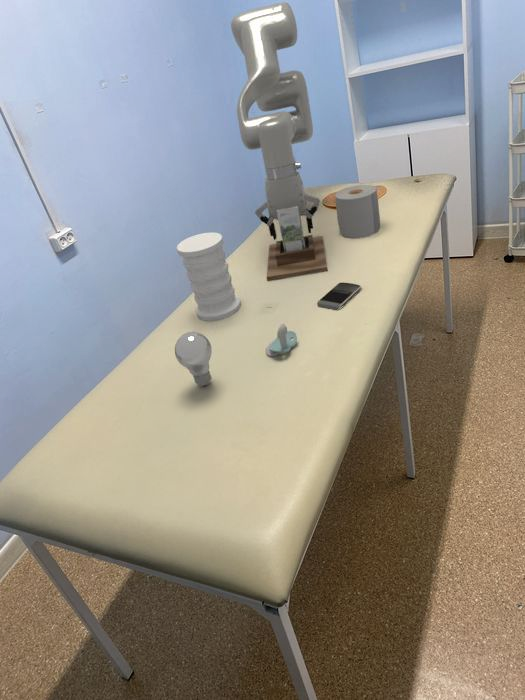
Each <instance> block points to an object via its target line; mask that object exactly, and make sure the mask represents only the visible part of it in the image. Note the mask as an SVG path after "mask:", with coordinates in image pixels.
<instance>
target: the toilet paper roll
mask: <svg viewBox="0 0 525 700" xmlns="http://www.w3.org/2000/svg"><path fill="white" fill-rule="evenodd" d="M377 190H378V189H377V186H374V185H371V184H357V185H352V186H347V187H345V188H342V189H340V190H338V191H337V192H336V193H335V194H334V195H335V196H334V197H335V208H336V209H335V210H336V216H337V224H338V230H339V235H340V236H342V237H343V238H347V239H362V238H365V237H369V236H372V235H374V234H376V233H377V232H379V230H380V228H381V215H380V208H379V205H380V204H379V199H378V197H379V196H378V191H377Z"/></svg>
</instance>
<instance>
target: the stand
mask: <svg viewBox="0 0 525 700" xmlns="http://www.w3.org/2000/svg"><path fill="white" fill-rule="evenodd" d="M323 237H324V236H323V235H318V236H313V234H309V235H304V241H305V246H306V249H303V250H297V251H291V252H286V253H285V251H284V246H283V241H282V240H276V241H275V243H274V244H273V243H272V244H269V248H268V259H267V268H266V281H267V282H270V281H276V280H282V279H288V278H289V279H290V278H295V277H300V276H306V275H312V274H319V273H324V272H325V273H326V272H328V263H327V258H326V252H325V251H326V250H325V243H324V238H323Z"/></svg>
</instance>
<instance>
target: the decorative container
mask: <svg viewBox="0 0 525 700" xmlns="http://www.w3.org/2000/svg"><path fill="white" fill-rule="evenodd" d="M223 244H224V239H223V235H222V234H221V233H218V232H203V233H198V234H195V235H192V236H190V237H187V238H185V239H183V240H182V241H181V242H179V243H178V245H177V246H176V251H177V254H178V255H179V256H180V257H182V265H183V266H184V268H185V269H186V276H187V279H188V280H189V282H190V289H191V290H192V292H193V294H194V296H193V297H194V301H195V303H196V307H195V309H194V310H195V311H194V312H195V314H196V317H197V318H198V319H199V320H201V321H205V322H212V321H213V322H214V321H220V320H224V319H227V318H229V317H231V316H233V315H234V314H236V313H237V312H238V311H239V310H240V309H241V308H242V301H241V297H240V296H239V295H238V294H236V292H235V290H236V289H235V286H234V285H233V284H232V283H233V282H232V275H231V273H230V272H229V264H228V261H227V260H226V252H225V250H224V249H223Z"/></svg>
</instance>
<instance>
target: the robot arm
mask: <svg viewBox="0 0 525 700" xmlns="http://www.w3.org/2000/svg"><path fill="white" fill-rule="evenodd" d="M297 26H298V25H297V21H296V17H295V14H294V11H293V9H292V7H291V5H290V4H289V3H288V2H286V1H283V2H279V3H274V4H271V5H267V6H263V7H258V8H257V7H256V8H254V9H250V10H247V11H246V10H245V11H243V12H241V13H239V14H237V15H235V16H233V18H232V19H231V22H230V27H231V28H230V29H231V32H232V33H231V34H232V36H233V39H234V41H235V43H236V44H237V46H238V48H239V49H240V51H241V52H242V53H241V54H243V56H244V61H245V67H246V72H247V81H246V82H245V84H244V86H243V87H242V90H241V92H240V94H239V97H238V100H237V106H236V114H237V121H238V122H237V123H238V127H239V134H240V139H241V142H242V143H243V146H244V147H245V148H246V149H248V150H252V151H253V150H254V151H255V150H261V154H262V160H263V164H264V169H265V174H266V178H265V179H264V190H265V199H266V200H265V202H264V203H263V204H261V205H260V206H259V207H258V208H256V209H255V211H254V212H255V215H256V217H258V219H260V221H261V222H262V223H264V224H265V225H267V226H268V230H269V235H270V237H272V238H273V241H274V240H276V241H277V232H276V231H277V230H276V228H275V227H276V225H275V222H274V221H275V220H278V215H277V210H281V209H287V208H292V207H296V206H297V207H298V210H299V214H300V216H302V215H304V216H305V219H306V226H307V233H308V234H312V229H314V225H313V216H315V214H316V212H317V211H318V207H319V204H320V202H321V200H320V198H319V197H318V196H317V197H316V196H313V195H309V194H307V193H305V189H304V184H303V180H302V177H301V174H300V172H299V171H298V170H299V169H302V165H301V162H296V158H295V157H294V152H293V146H292V145H294V144H299V143H304V142H307V141H309V140H311V138H312V137H313V133H314V129H313V128H314V126H313V125H314V124H313V119H312V112H311V105H310V99H309V94H308V93H309V91H308V87H307V82H306V79H305V76H304V75H303V73H302V72H301V71H300V70H289V71H286V72H281V68H280V63H279V62H280V61H279V58H278V52H277V51H279V50H283V49H287V48H290V47H293V46H295V45H296V43H297V41H298V27H297ZM254 103H256V105H257V107H258V109H259V110H260V111H262V112H272V111H277V110H278V111H277V112H274V113H267V114H263V115H259V116H253V117H250V118H249V112H250V109H251V108H252V106H253V105H254ZM291 107H292V108H294V109H295V110H291V111H286V110H285V111H284V110H283V111H279V110H282V109H287V108H291ZM307 202H310V203H313V205H312V207H311V208H310V209H309V208H308V207H309V206H308V204H307ZM265 210H268V211H267V212H268V215H269V216H268V217H267V216H266V215H265V214H263V212H264V211H265Z"/></svg>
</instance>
